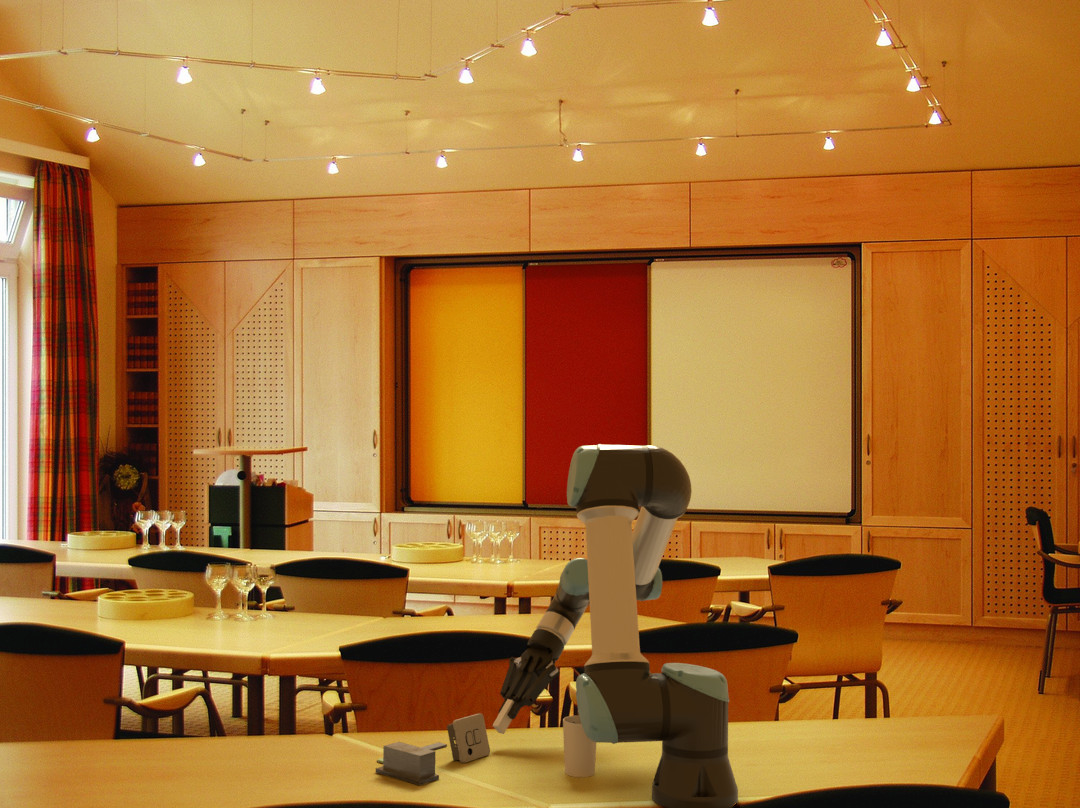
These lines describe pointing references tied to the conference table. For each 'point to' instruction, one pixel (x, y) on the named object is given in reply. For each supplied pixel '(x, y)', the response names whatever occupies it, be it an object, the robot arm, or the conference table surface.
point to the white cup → (578, 749)
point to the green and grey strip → (430, 747)
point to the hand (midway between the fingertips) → (498, 729)
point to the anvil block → (408, 763)
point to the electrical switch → (468, 738)
